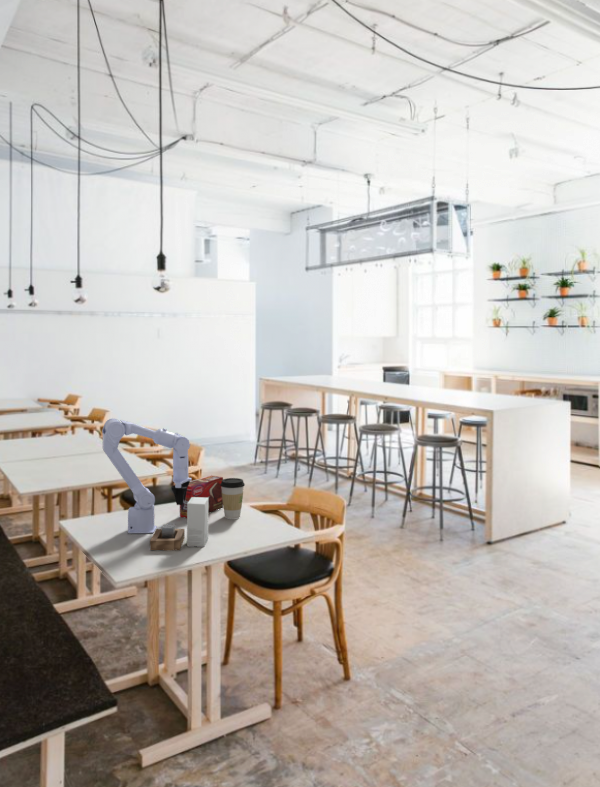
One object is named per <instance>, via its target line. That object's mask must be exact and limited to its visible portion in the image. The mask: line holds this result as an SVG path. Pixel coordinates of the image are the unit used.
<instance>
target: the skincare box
mask: <svg viewBox="0 0 600 787" xmlns="http://www.w3.org/2000/svg"><path fill="white" fill-rule="evenodd" d="M208 540H209V513H208V498H206V497H191V499H190V500H189V502H188V503H187V518H186V547H194V546H197V547H201V548H204V547H205V546H206V544H207V542H208Z"/></svg>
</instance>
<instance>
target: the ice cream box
mask: <svg viewBox="0 0 600 787" xmlns="http://www.w3.org/2000/svg"><path fill="white" fill-rule="evenodd" d="M223 479H224V477H223V476H216V475H212V474H211V475H208V476H205V477H204V476H203V477H201V478H198V479H193V480H191V481H190V483H189V485H188V488H187V493H186V498H185V500H183V504H182V505H178V506H179V508H178V510H179V516H180V517H179V518H183V517H185V518H184V519H187V503H188V502H189V500H190V499H191V497H206V498H208V514H210V512H211V513H213V512H216V511H218V509H219V510H221V508H222V509H223V500H222V488H221V486H220V484H221V482H222V480H223Z"/></svg>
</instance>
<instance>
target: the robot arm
mask: <svg viewBox="0 0 600 787" xmlns="http://www.w3.org/2000/svg"><path fill="white" fill-rule="evenodd" d="M101 432H102V433H101V435H102V451H103V452H104V454H105V455H106V456H107V458H108V459H109V461H110V462H111V463H112V464H113V466H114V468H115V469H116V470H117V472H118V474H119V475H120V476H121V477H122V479H123V481H124V482H125V483H126V485H127V486H128V488H129V489H130V491H131V492H132V493H133V494H132V495H133V499H134V501H135V503H134V506H130V507H129V508H128V511H127V534H154V533H155V531H156V529H158V525H155V503H156V497H155V495H154V494H153V493H152V492H151V491H150V489H149V488H148V487H145V485H144V484H143V483H142V481H141V480H140V478H139V477H138V476H137V474H136V473H135V472H134V470H133V469H132V467H131V466H130V464H129V463H128V462H127V460H126V459H125V457H124V456H123V454H122V453H121V451H120V450H119V444H120V441H121V440H122V438H123V437H124V435H125V436H130V435H132V434H133V435H137V436H141V437H145V438H148V439H152V441H153V442H154V444H156V445H158V446H159V445H160V446H163V447H165V448H169V449H172V451H173V453H172V454H173V455H172V471H173V472H172V477H173V478H172V482H173V483H174V484H175V485H172V486H171V488H170V489H171V490H172V492H173V495H174V499H175V504H176V505H177V506H179V505H182V504H183V500H185V498H186V493H187V488H188V485H189V483H190V481H193V480H192V477H189V449H190V447H191V443H190V441H189V439H188V438H187V437H185V436H183V435H181V434H179V433H178V432H175V433H174V432H171V431H168V430H167V428H164V427H163V428H158V429H156V430H155V429H151V428H149V427H147V426H146V427H145V426H143V425H140V424H137V423H134V422H131V421H128V420H127V421H126V420H123V419H120V420H119V419H117V418H109V419H107V420H106V421H105V423H104V425H103V427H102V430H101Z"/></svg>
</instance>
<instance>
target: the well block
mask: <svg viewBox="0 0 600 787" xmlns="http://www.w3.org/2000/svg"><path fill="white" fill-rule="evenodd" d="M185 530H186V529H185V528H175V539H162V528H156V529H155V531H154V533H152V537H151V538H150V540H149V543H150V544H149V549H150V550H164V551H181V549H182V545H183V543H184V540H185V539H186V538H185V537H186V536H185V535H186V534H185Z"/></svg>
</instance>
